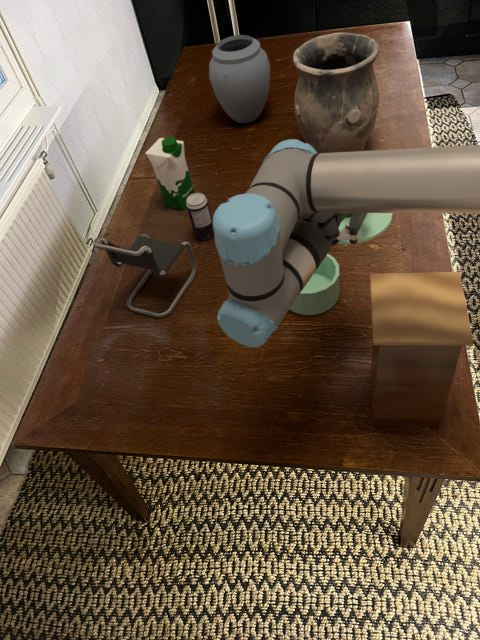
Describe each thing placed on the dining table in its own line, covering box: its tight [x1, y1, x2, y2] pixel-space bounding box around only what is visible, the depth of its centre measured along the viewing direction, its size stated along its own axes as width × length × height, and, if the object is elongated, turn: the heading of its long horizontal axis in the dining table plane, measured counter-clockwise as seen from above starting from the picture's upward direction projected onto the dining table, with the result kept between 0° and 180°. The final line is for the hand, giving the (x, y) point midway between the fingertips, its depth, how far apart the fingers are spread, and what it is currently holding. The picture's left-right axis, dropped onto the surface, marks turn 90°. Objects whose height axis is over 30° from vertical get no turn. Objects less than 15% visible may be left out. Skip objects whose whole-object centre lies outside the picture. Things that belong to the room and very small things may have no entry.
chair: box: [92, 233, 197, 319], centre depth 124 cm, size 13×17×22 cm
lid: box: [336, 213, 394, 245], centre depth 86 cm, size 15×15×10 cm
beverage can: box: [186, 192, 215, 240], centre depth 138 cm, size 6×6×12 cm
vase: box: [208, 34, 271, 124], centre depth 169 cm, size 20×20×24 cm
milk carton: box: [145, 136, 196, 211], centre depth 147 cm, size 9×9×20 cm
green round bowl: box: [289, 253, 341, 316], centre depth 121 cm, size 14×14×8 cm
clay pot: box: [292, 31, 380, 154], centre depth 146 cm, size 22×23×30 cm
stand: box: [369, 271, 474, 428], centre depth 92 cm, size 14×14×28 cm
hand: (362, 164), depth 87 cm, fingers closed on lid, 3 cm apart
